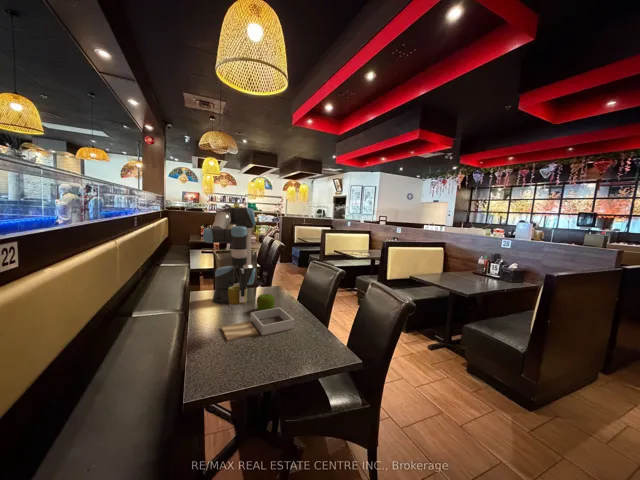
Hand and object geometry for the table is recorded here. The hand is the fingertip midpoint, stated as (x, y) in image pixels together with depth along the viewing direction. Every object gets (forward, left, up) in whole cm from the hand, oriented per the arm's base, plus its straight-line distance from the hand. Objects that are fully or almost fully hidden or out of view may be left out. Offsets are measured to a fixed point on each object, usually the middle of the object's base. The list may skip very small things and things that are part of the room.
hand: (239, 298), depth 132 cm
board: (0, 0, -18) cm, 18 cm away
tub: (0, +18, -18) cm, 25 cm away
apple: (-21, +22, -18) cm, 35 cm away
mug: (0, 0, -2) cm, 2 cm away
